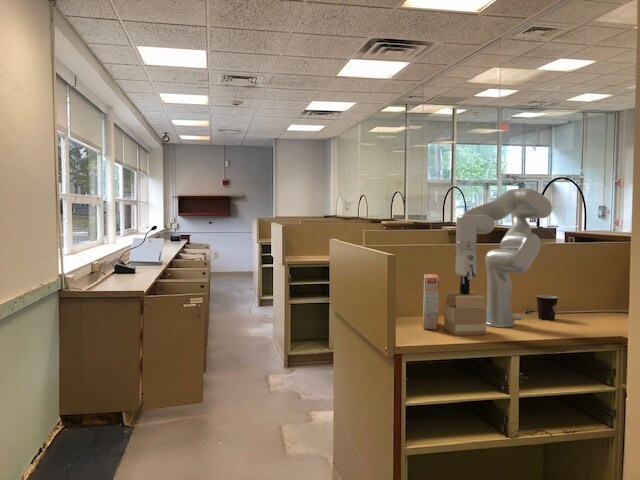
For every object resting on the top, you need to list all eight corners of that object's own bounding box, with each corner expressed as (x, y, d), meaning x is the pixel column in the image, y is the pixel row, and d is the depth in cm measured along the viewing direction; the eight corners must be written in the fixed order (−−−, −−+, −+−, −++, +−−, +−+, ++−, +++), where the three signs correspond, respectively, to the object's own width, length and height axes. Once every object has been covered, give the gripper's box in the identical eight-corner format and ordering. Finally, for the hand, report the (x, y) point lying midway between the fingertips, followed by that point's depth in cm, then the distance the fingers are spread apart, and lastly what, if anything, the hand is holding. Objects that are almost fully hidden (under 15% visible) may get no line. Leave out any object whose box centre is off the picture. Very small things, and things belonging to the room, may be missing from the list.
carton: (474, 328, 197) (474, 303, 197) (487, 335, 186) (487, 308, 186) (443, 329, 196) (443, 304, 195) (454, 335, 185) (454, 309, 184)
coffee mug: (544, 321, 211) (545, 298, 211) (531, 317, 219) (532, 295, 219) (567, 320, 214) (568, 297, 213) (553, 316, 222) (554, 294, 222)
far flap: (472, 303, 197) (471, 302, 197) (474, 292, 195) (474, 291, 195) (445, 303, 195) (445, 302, 196) (447, 293, 193) (447, 292, 194)
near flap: (457, 308, 184) (457, 308, 184) (455, 296, 186) (456, 295, 185) (485, 308, 186) (485, 307, 185) (483, 295, 187) (484, 295, 187)
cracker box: (438, 330, 194) (439, 277, 193) (423, 329, 195) (423, 277, 194) (437, 323, 207) (438, 273, 206) (422, 322, 209) (423, 273, 208)
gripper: (484, 247, 183) (482, 296, 183) (466, 246, 197) (465, 291, 198) (464, 247, 182) (463, 296, 182) (449, 245, 196) (447, 291, 197)
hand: (464, 293), depth 190 cm, fingers closed
